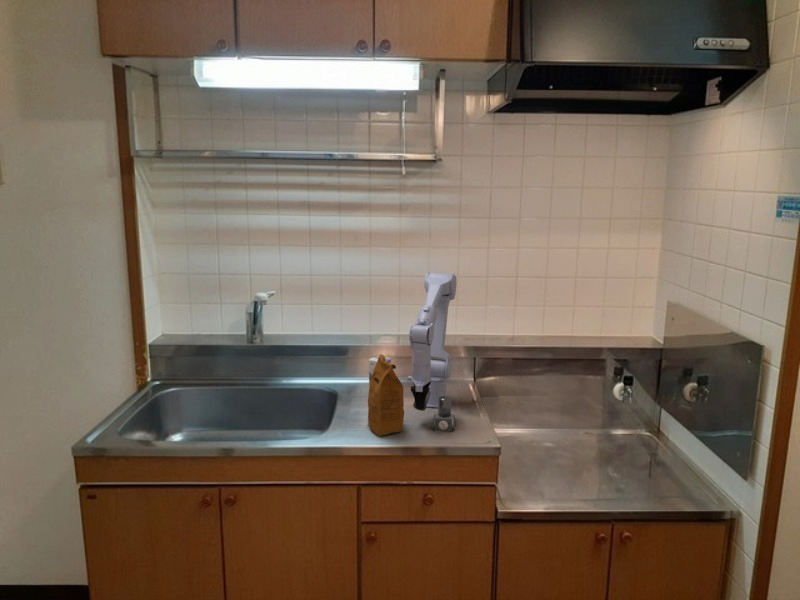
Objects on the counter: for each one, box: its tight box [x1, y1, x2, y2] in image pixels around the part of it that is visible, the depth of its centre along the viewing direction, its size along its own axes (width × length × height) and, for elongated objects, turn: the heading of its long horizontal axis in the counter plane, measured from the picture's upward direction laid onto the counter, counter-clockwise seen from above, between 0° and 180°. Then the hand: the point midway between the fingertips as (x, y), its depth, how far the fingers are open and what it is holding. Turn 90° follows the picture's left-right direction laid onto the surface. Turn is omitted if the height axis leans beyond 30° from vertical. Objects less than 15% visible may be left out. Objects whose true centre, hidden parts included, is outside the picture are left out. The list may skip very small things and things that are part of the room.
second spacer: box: [412, 391, 431, 412], centre depth 180 cm, size 4×4×6 cm
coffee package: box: [367, 354, 405, 437], centre depth 176 cm, size 10×12×22 cm
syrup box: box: [368, 355, 392, 388], centre depth 201 cm, size 6×6×14 cm
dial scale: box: [432, 411, 456, 433], centre depth 181 cm, size 11×7×4 cm, turn 173°
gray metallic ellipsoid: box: [437, 395, 452, 418], centre depth 183 cm, size 4×4×6 cm
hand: (420, 405), depth 180 cm, fingers closed on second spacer, 4 cm apart
